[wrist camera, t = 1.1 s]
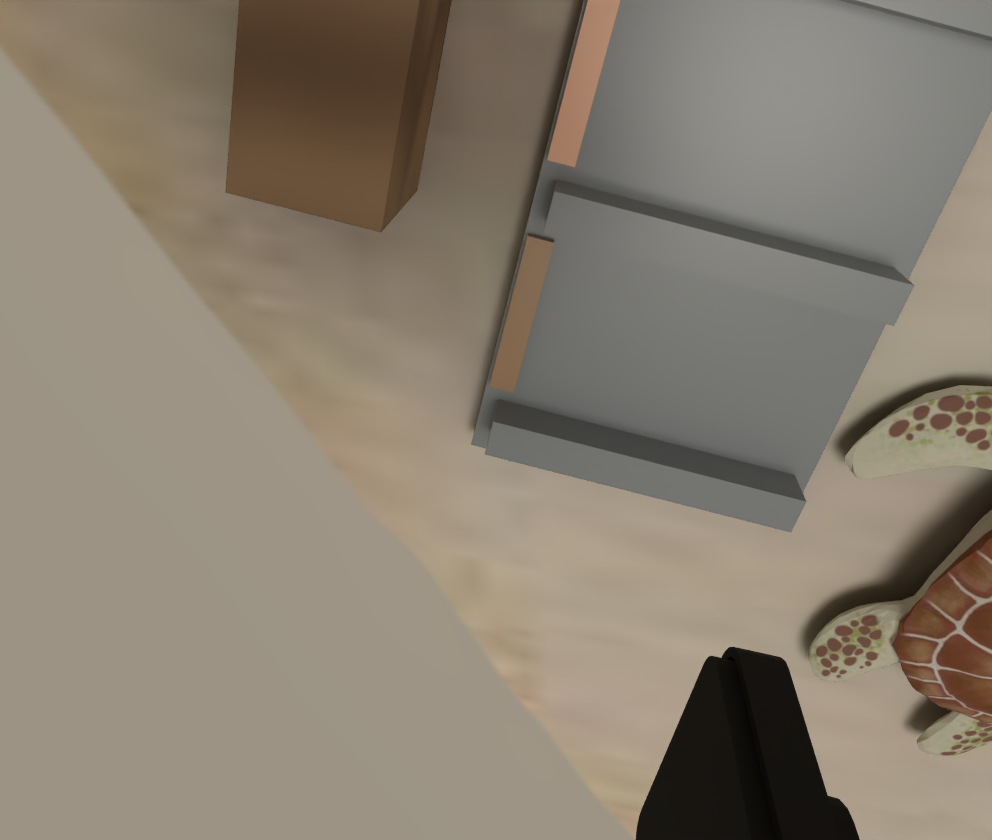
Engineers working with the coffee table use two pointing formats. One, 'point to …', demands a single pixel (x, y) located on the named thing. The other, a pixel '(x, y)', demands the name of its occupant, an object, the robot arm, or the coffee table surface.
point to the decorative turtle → (946, 593)
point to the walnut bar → (334, 104)
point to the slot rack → (727, 237)
